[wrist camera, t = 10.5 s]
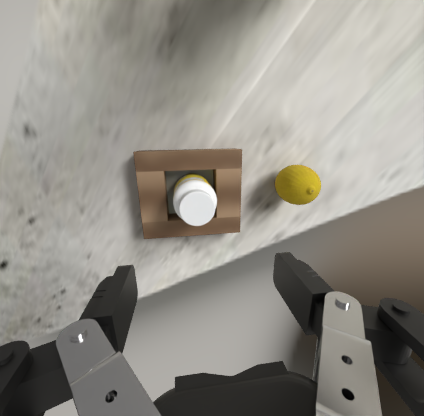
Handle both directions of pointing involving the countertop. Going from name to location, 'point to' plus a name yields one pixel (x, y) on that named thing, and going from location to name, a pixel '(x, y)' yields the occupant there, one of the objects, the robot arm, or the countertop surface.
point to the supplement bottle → (194, 199)
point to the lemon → (297, 184)
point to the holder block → (165, 182)
